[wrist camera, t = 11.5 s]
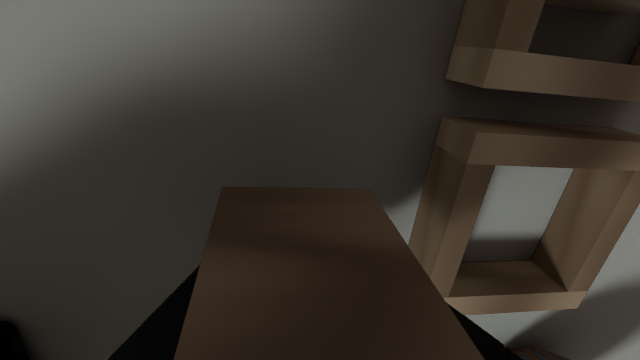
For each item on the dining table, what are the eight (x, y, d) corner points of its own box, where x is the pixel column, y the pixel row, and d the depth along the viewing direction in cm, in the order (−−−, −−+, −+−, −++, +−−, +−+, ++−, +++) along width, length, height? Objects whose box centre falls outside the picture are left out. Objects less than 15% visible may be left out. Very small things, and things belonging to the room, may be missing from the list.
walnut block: (225, 302, 10) (176, 636, 4) (222, 186, 8) (135, 492, 3) (350, 297, 10) (440, 576, 5) (370, 189, 9) (536, 435, 3)
